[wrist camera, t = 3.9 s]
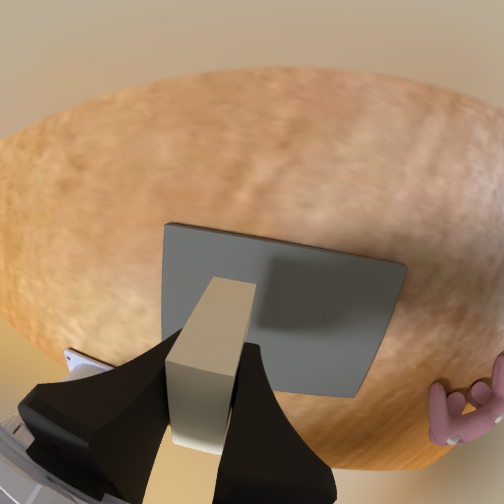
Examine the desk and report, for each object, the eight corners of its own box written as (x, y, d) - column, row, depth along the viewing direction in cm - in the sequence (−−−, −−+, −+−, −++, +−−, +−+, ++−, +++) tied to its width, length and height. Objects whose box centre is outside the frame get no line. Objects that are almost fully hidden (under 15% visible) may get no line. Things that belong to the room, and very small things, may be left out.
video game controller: (415, 396, 21) (426, 459, 16) (430, 381, 18) (445, 454, 13) (489, 368, 19) (503, 422, 14) (508, 348, 16) (527, 409, 11)
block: (242, 364, 14) (221, 455, 9) (206, 356, 14) (172, 443, 9) (256, 284, 13) (234, 376, 7) (213, 276, 13) (165, 360, 7)
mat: (352, 392, 19) (353, 397, 18) (165, 361, 20) (162, 366, 19) (404, 264, 16) (407, 267, 15) (168, 222, 17) (164, 224, 16)
